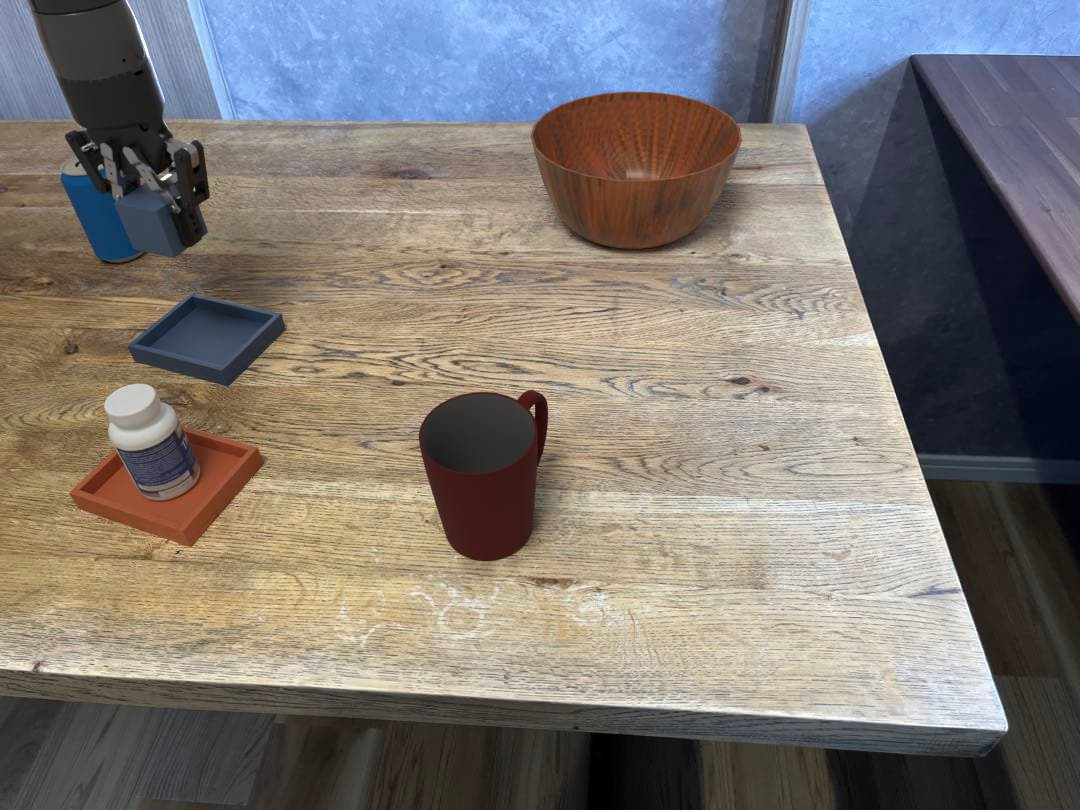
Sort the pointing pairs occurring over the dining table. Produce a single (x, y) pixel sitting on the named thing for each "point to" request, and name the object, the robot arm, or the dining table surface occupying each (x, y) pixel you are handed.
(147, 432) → the pill bottle
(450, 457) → the mug
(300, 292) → the dining table surface
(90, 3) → the robot arm
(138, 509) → the terracotta tray
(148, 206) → the blue block
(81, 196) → the beverage can
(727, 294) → the dining table surface
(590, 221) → the bowl
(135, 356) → the blue tray
